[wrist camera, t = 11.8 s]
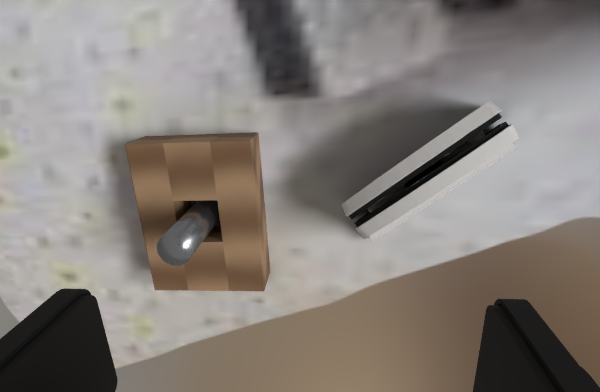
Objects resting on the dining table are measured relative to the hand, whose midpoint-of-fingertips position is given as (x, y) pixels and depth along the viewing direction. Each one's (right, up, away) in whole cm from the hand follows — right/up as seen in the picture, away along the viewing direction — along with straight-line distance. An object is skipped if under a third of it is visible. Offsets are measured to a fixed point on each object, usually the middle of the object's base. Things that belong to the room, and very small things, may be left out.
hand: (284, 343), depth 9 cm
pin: (-9, +2, +32) cm, 33 cm away
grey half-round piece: (+12, +7, +29) cm, 32 cm away
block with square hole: (-9, +2, +32) cm, 34 cm away
